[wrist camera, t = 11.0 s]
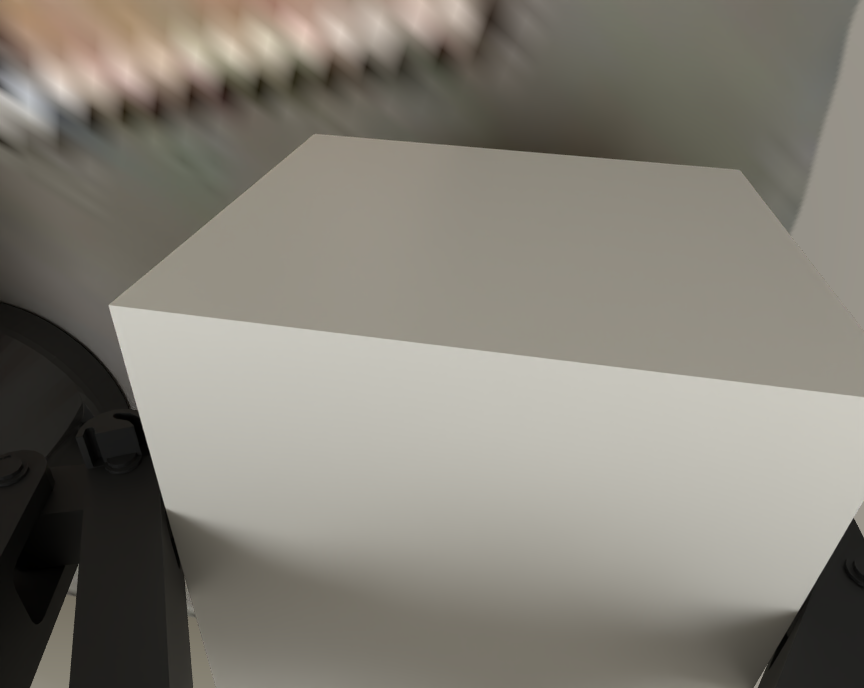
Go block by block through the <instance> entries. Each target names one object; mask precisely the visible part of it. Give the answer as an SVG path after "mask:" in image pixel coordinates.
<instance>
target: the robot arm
mask: <svg viewBox="0 0 864 688" xmlns="http://www.w3.org/2000/svg"><path fill="white" fill-rule="evenodd" d="M78 564H79V571H78V584H77V596H76V608H75V609H76V610H75V621H74V633H73V645H72V658H71V671H70V682H69V688H193V681H192V669H191V656H190V643H189V630H188V619H187V618H188V617H187V605H186V592H185V579H184V572H183V569H182V565H181V562H180V558H179V555H178V551H177V548H176V544H175V540H174V537H173V533H172V530H171V526H170V523H169V519H168V515H167V512H166V508H165V505H164V501H163V498H162V494H161V490H160V487H159V483H158V480H157V476H156V473H155V469H154V466H153V462H152V458H151V455H150V451H149V448H148V444H147V441H146V437H145V433H144V430H143V426H142V423H141V419H140V416H139V412H138V411H137V410H132V409H128V406H127V404H126V401H125V399H124V397H123V395H122V393H121V392H120V390H119V388H118V387H117V385H116V383H115V382H114V381H113V379H112V378H111V376H110V375H109V374H108V372H107V371H106V370H105V369H104V368H103V366H102V365H101V364H100V363H99V362H98V361H97V360H96V359H95V358H94V357H93V356H92V355H91V354H90V353H89V352H88V351H87V350H86V349H85V348H84V347H82V346H81V345H80V344H79V343H78V342H76V341H75V340H74V339H73V338H71V337H70V336H69V335H67V334H66V333H64V332H63V331H61V330H60V329H58V328H57V327H55V326H53V325H52V324H50V323H48V322H47V321H45V320H43V319H41V318H39V317H37V316H35V315H33V314H31V313H28V312H26V311H24V310H21V309H18V308H16V307H13V306H9V305H6V304H2V303H0V688H30V686H31V684H32V681H33V679H34V676H35V673H36V671H37V668H38V666H39V663H40V661H41V658H42V655H43V653H44V650H45V648H46V645H47V643H48V640H49V638H50V635H51V633H52V630H53V627H54V625H55V622H56V620H57V617H58V615H59V612H60V610H61V607H62V604H63V602H64V599H65V597H66V594H67V592H68V589H69V587H70V584H71V581H72V579H73V576H74V574H75V571H76V569H77V566H78ZM758 688H864V537H863V535H862V533H861V531H860V530H859V527H858V525H857V524H856V522H855V520H854V518H853V519H852V521H851V523H850V524H849V526H848V528H847V530H846V531H845V533H844V535H843V536H842V538H841V540H840V541H839V543H838V545H837V547H836V548H835V550H834V552H833V553H832V555H831V557H830V558H829V560H828V562H827V564H826V565H825V567H824V569H823V570H822V572H821V574H820V575H819V577H818V579H817V581H816V582H815V584H814V586H813V587H812V589H811V591H810V592H809V594H808V596H807V598H806V599H805V601H804V603H803V604H802V606H801V608H800V609H799V611H798V613H797V615H796V616H795V618H794V620H793V621H792V623H791V625H790V626H789V628H788V630H787V632H786V633H785V635H784V637H783V638H782V640H781V642H780V643H779V645H778V647H777V649H776V650H775V652H774V654H773V655H772V657H771V659H770V660H769V662H768V665H767V667H766V669H765V672H764V674H763V677H762V679H761V681H760V684H759V686H758Z"/></svg>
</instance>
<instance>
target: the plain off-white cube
mask: <svg viewBox="0 0 864 688" xmlns="http://www.w3.org/2000/svg"><path fill="white" fill-rule="evenodd" d="M109 309H110V312H111V316H112V319H113V323H114V326H115V330H116V334H117V337H118V341H119V344H120V348H121V351H122V355H123V359H124V362H125V366H126V369H127V373H128V376H129V380H130V384H131V387H132V391H133V394H134V398H135V401H136V405H137V408H138V412H139V416H140V419H141V423H142V426H143V430H144V433H145V437H146V441H147V444H148V448H149V451H150V455H151V458H152V462H153V466H154V469H155V473H156V476H157V480H158V483H159V487H160V490H161V494H162V498H163V501H164V505H165V508H166V512H167V515H168V519H169V523H170V526H171V530H172V533H173V537H174V540H175V544H176V548H177V551H178V555H179V558H180V562H181V565H182V569H183V572H184V576H185V580H186V583H187V587H188V590H189V594H190V597H191V601H192V605H193V608H194V612H195V615H196V619H197V622H198V626H199V629H200V633H201V636H202V640H203V644H204V647H205V651H206V654H207V658H208V661H209V665H210V669H211V672H212V675H213V679H214V683H215V687H216V688H754V686H755V684H756V682H757V681H758V679H759V677H760V676H761V674H762V672H763V671H764V669H765V667H766V666H767V664H768V662H769V660H770V659H771V657H772V655H773V654H774V652H775V650H776V649H777V647H778V645H779V643H780V642H781V640H782V638H783V637H784V635H785V633H786V632H787V630H788V628H789V626H790V625H791V623H792V621H793V620H794V618H795V616H796V615H797V613H798V611H799V609H800V608H801V606H802V604H803V603H804V601H805V599H806V598H807V596H808V594H809V592H810V591H811V589H812V587H813V586H814V584H815V582H816V581H817V579H818V577H819V575H820V574H821V572H822V570H823V569H824V567H825V565H826V564H827V562H828V560H829V558H830V557H831V555H832V553H833V552H834V550H835V548H836V547H837V545H838V543H839V541H840V540H841V538H842V536H843V535H844V533H845V531H846V530H847V528H848V526H849V524H850V523H851V521H852V519H853V518H854V516H855V514H856V513H857V511H858V509H859V507H860V506H861V504H862V502H863V501H864V330H863V329H862V328H861V326H860V325H859V324H858V323H857V321H856V320H855V319H854V317H853V316H852V315H851V314H850V312H849V311H848V310H847V308H846V307H845V306H844V305H843V303H842V302H841V301H840V299H839V298H838V297H837V295H836V294H835V293H834V291H833V290H832V289H831V288H830V286H829V285H828V284H827V282H826V281H825V280H824V279H823V277H822V276H821V275H820V273H819V272H818V271H817V269H816V268H815V267H814V265H813V264H812V263H811V262H810V260H809V259H808V258H807V256H806V255H805V254H804V253H803V252H802V250H801V249H800V247H799V246H798V245H797V244H796V242H795V241H794V240H793V238H792V237H791V236H790V234H789V233H788V232H787V230H786V229H785V228H784V227H783V225H782V224H781V223H780V221H779V220H778V219H777V217H776V216H775V215H774V214H773V212H772V211H771V210H770V208H769V207H768V206H767V204H766V203H765V202H764V201H763V199H762V198H761V197H760V195H759V194H758V193H757V191H756V190H755V189H754V188H753V186H752V185H751V184H750V182H749V181H748V180H747V178H746V177H745V176H744V175H743V173H742V172H741V171H740V170H736V169H725V168H713V167H701V166H689V165H677V164H666V163H654V162H642V161H630V160H618V159H606V158H595V157H583V156H571V155H559V154H547V153H535V152H524V151H512V150H500V149H488V148H476V147H465V146H453V145H441V144H429V143H417V142H405V141H394V140H382V139H370V138H358V137H346V136H335V135H323V134H314V135H313V136H311V137H310V138H309V139H308V140H306V141H305V142H304V143H303V144H302V145H300V146H299V147H298V148H297V149H296V150H294V151H293V152H292V153H291V154H290V155H288V156H287V157H286V158H285V159H284V160H282V161H281V162H280V163H279V164H278V165H276V166H275V167H274V168H273V169H272V170H270V171H269V172H268V173H267V174H266V175H264V176H263V177H262V178H261V179H260V180H258V181H257V182H256V183H255V184H254V185H252V186H251V187H250V188H249V189H248V190H246V191H245V192H244V193H243V194H242V195H240V196H239V197H238V198H237V199H236V200H234V201H233V202H232V203H231V204H230V205H228V206H227V207H226V208H225V209H224V210H222V211H221V212H220V213H219V214H218V215H216V216H215V217H214V218H213V219H211V220H210V221H209V222H208V223H207V224H205V225H204V226H203V227H202V228H201V229H199V230H198V231H197V232H196V233H195V234H193V235H192V236H191V237H190V238H189V239H187V240H186V241H185V242H184V243H183V244H181V245H180V246H179V247H178V248H177V249H175V250H174V251H173V252H172V253H171V254H169V255H168V256H167V257H166V258H165V259H163V260H162V261H161V262H160V263H159V264H157V265H156V266H155V267H154V268H153V269H151V270H150V271H149V272H148V273H147V274H145V275H144V276H143V277H142V278H141V279H139V280H138V281H137V282H136V283H135V284H133V285H132V286H131V287H130V288H129V289H127V290H126V291H125V292H124V293H123V294H121V295H120V296H119V297H118V298H116V299H115V300H114V301H113V302H112V303H110V304H109Z"/></svg>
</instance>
